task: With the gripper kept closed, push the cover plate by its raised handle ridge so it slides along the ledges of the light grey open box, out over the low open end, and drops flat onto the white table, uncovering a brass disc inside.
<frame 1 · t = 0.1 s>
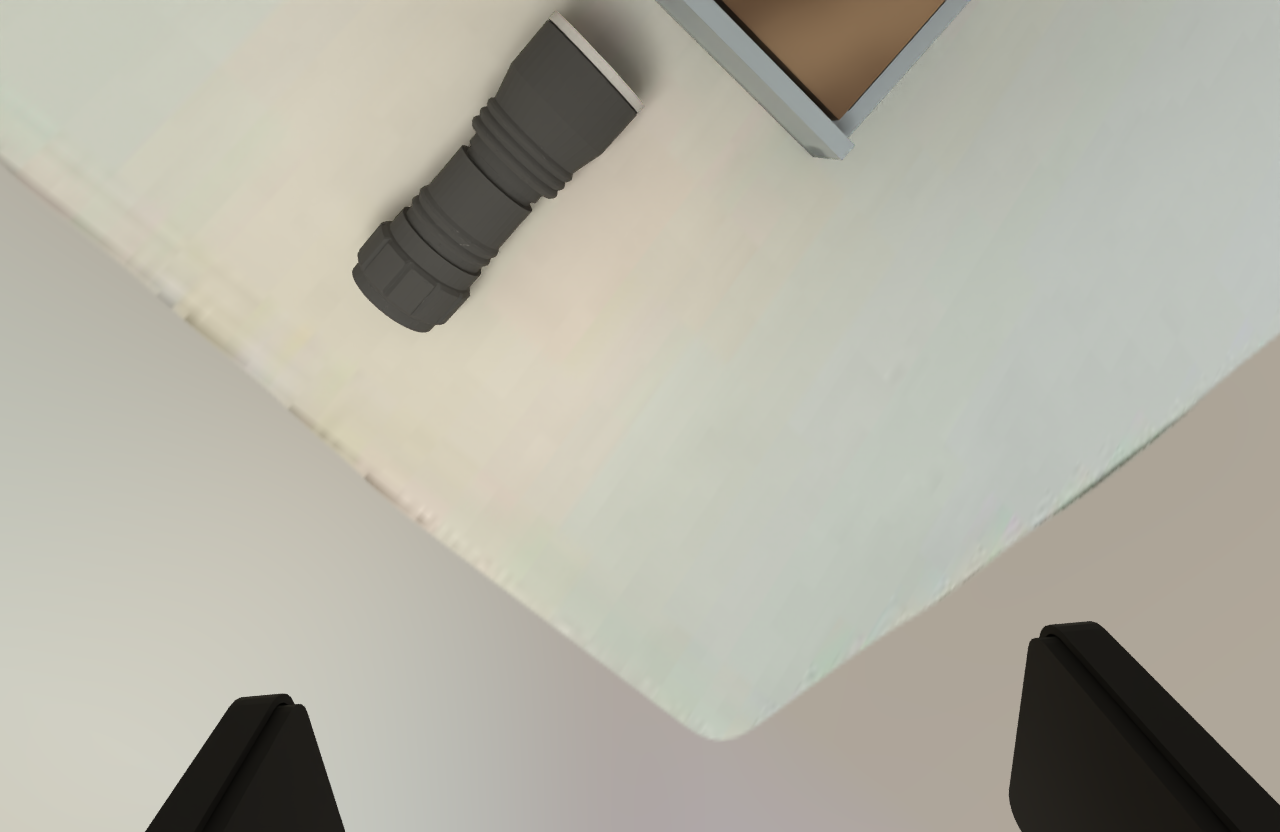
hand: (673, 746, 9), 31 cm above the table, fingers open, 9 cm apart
flashlight: (502, 178, 37), on the table
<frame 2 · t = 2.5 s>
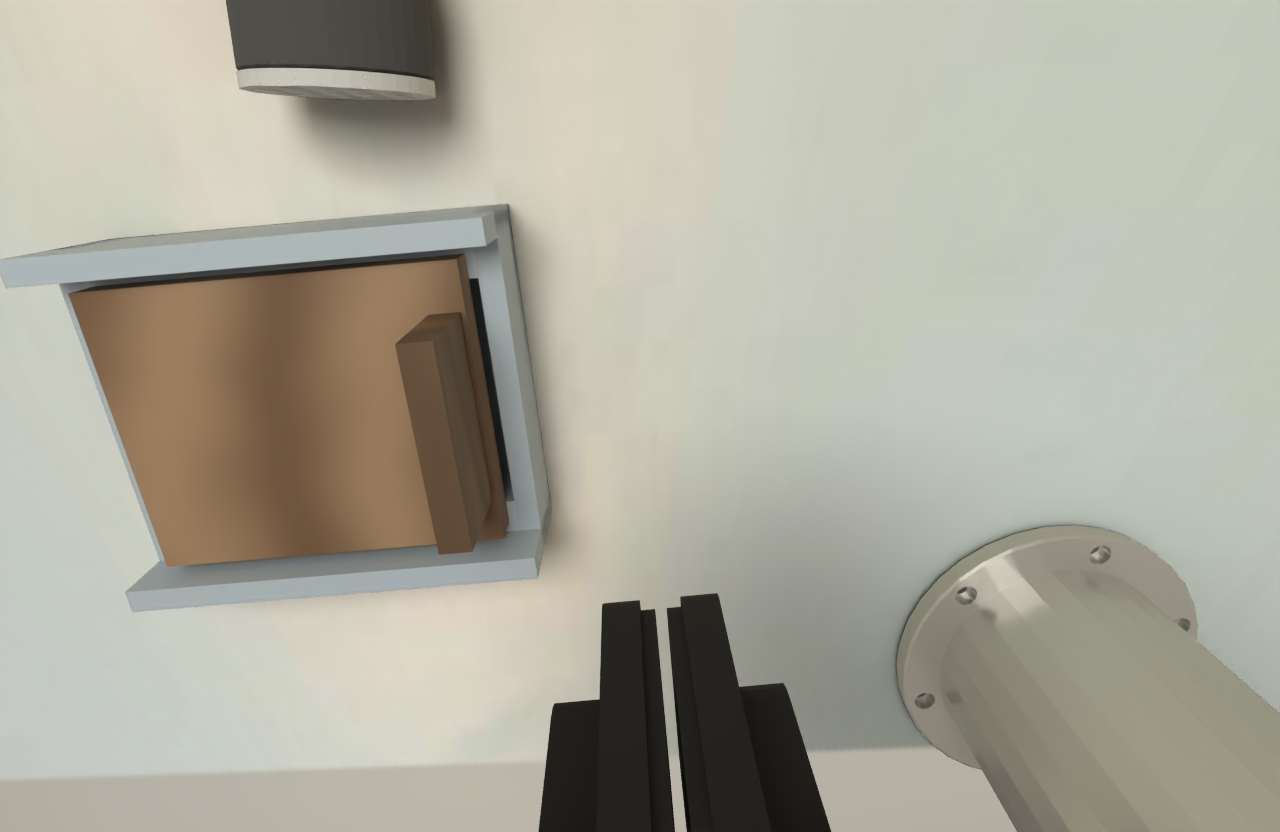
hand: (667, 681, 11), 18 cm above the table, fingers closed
cover plate: (315, 411, 25), point 3 cm above the table, touching light grey open box
light grey open box: (347, 384, 28), on the table
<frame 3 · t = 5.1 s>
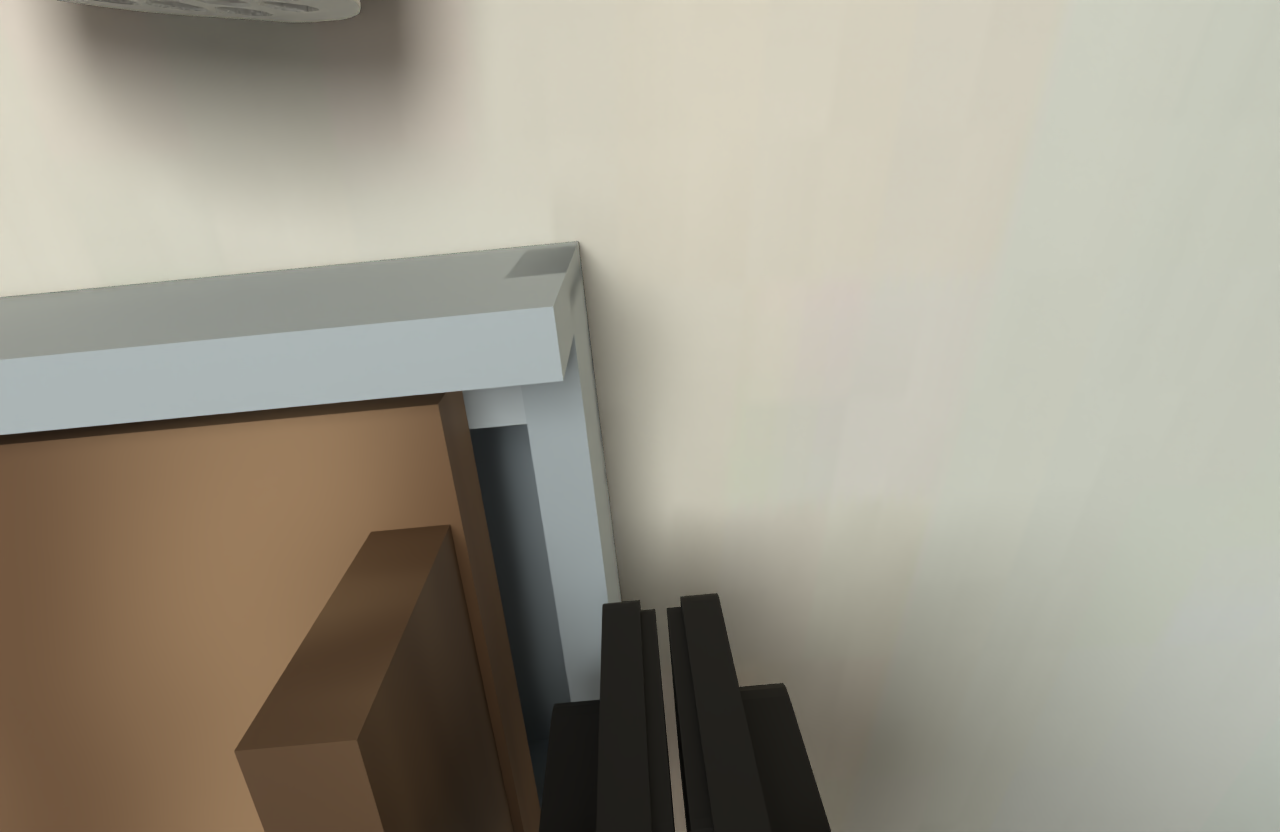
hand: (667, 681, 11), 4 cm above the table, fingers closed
cover plate: (140, 697, 11), point 3 cm above the table, touching light grey open box
light grey open box: (260, 586, 14), on the table
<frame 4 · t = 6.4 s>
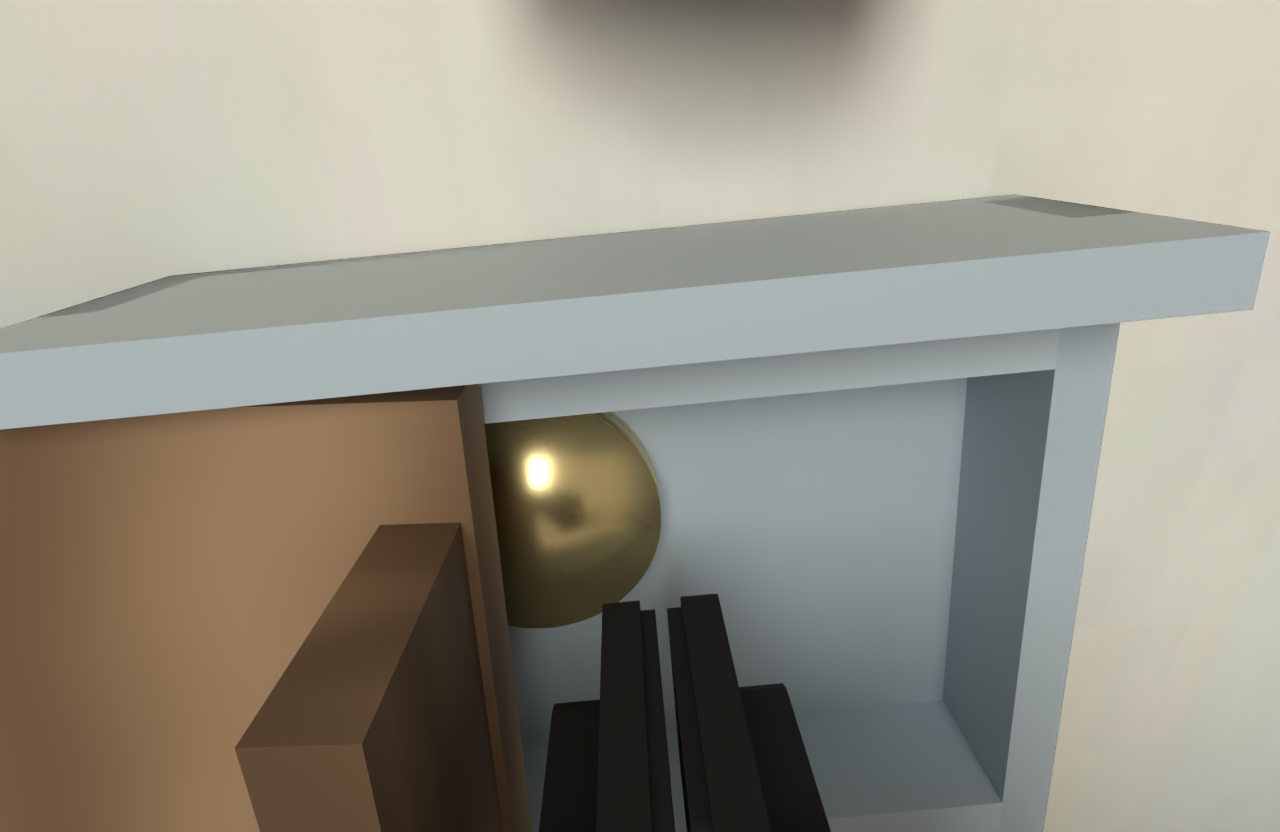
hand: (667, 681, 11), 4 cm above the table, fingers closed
brass disc: (537, 500, 13), resting on light grey open box
cover plate: (132, 677, 11), point 3 cm above the table, touching gripper, light grey open box
light grey open box: (626, 549, 14), on the table
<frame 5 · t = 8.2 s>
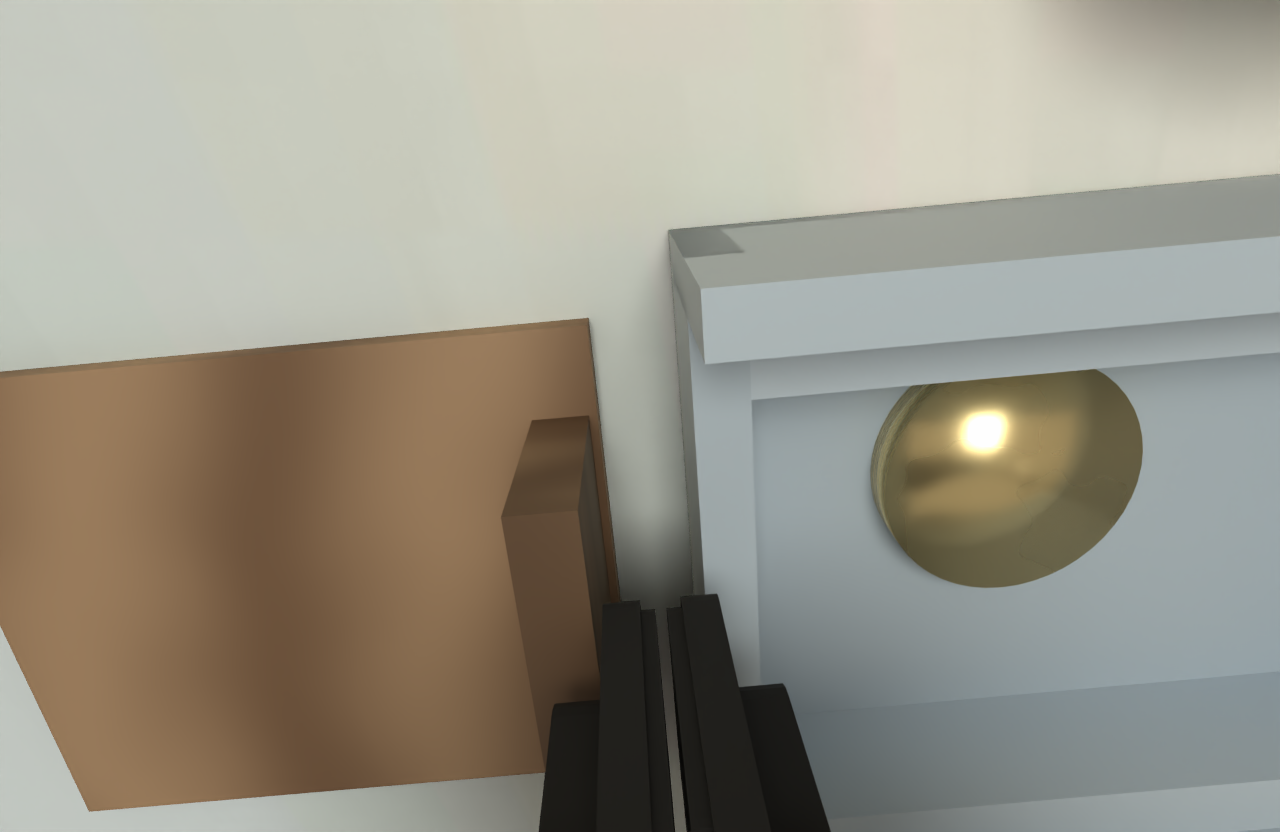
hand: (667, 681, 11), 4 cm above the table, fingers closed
brass disc: (990, 459, 13), resting on light grey open box
cover plate: (330, 564, 15), on the table
light grey open box: (1048, 511, 14), on the table
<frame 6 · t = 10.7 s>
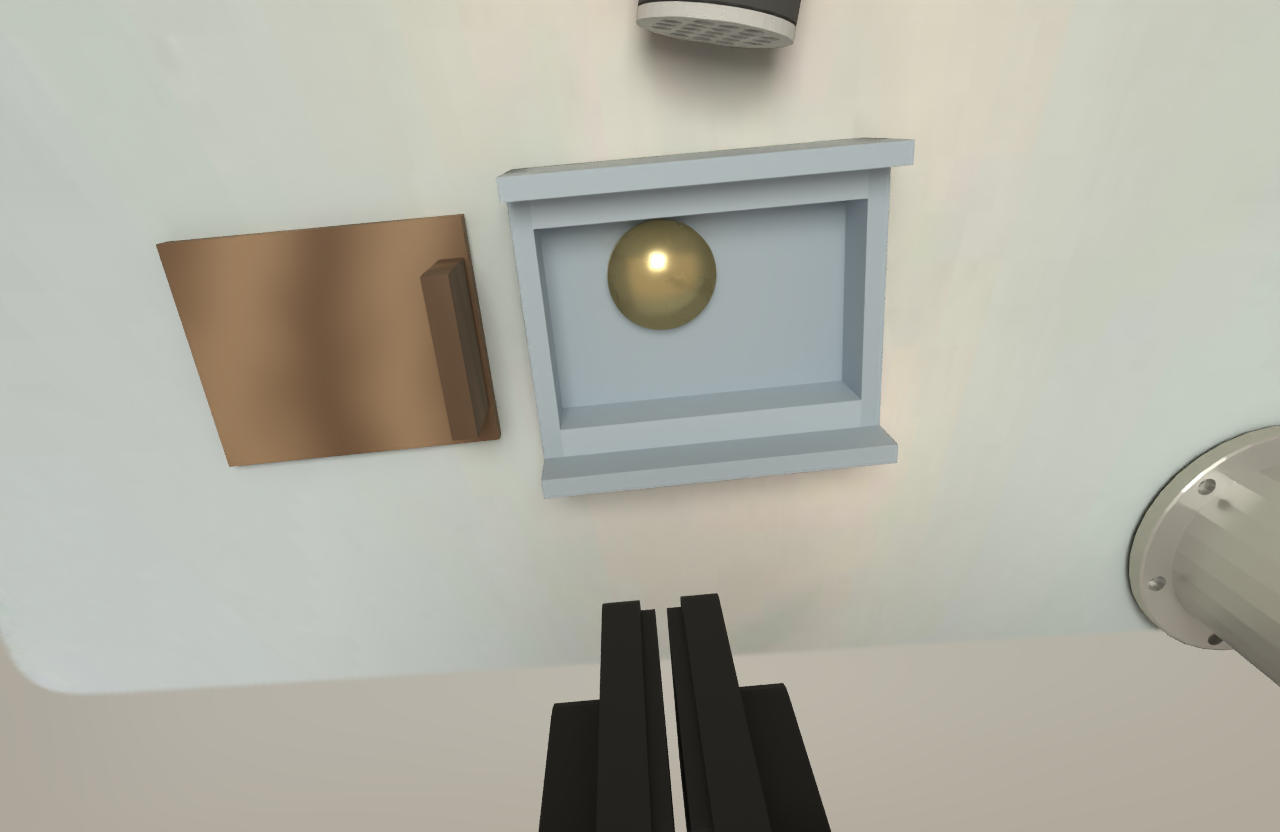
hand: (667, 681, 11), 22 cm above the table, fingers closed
brass disc: (660, 273, 30), resting on light grey open box
cover plate: (347, 340, 31), on the table
light grey open box: (696, 302, 31), on the table
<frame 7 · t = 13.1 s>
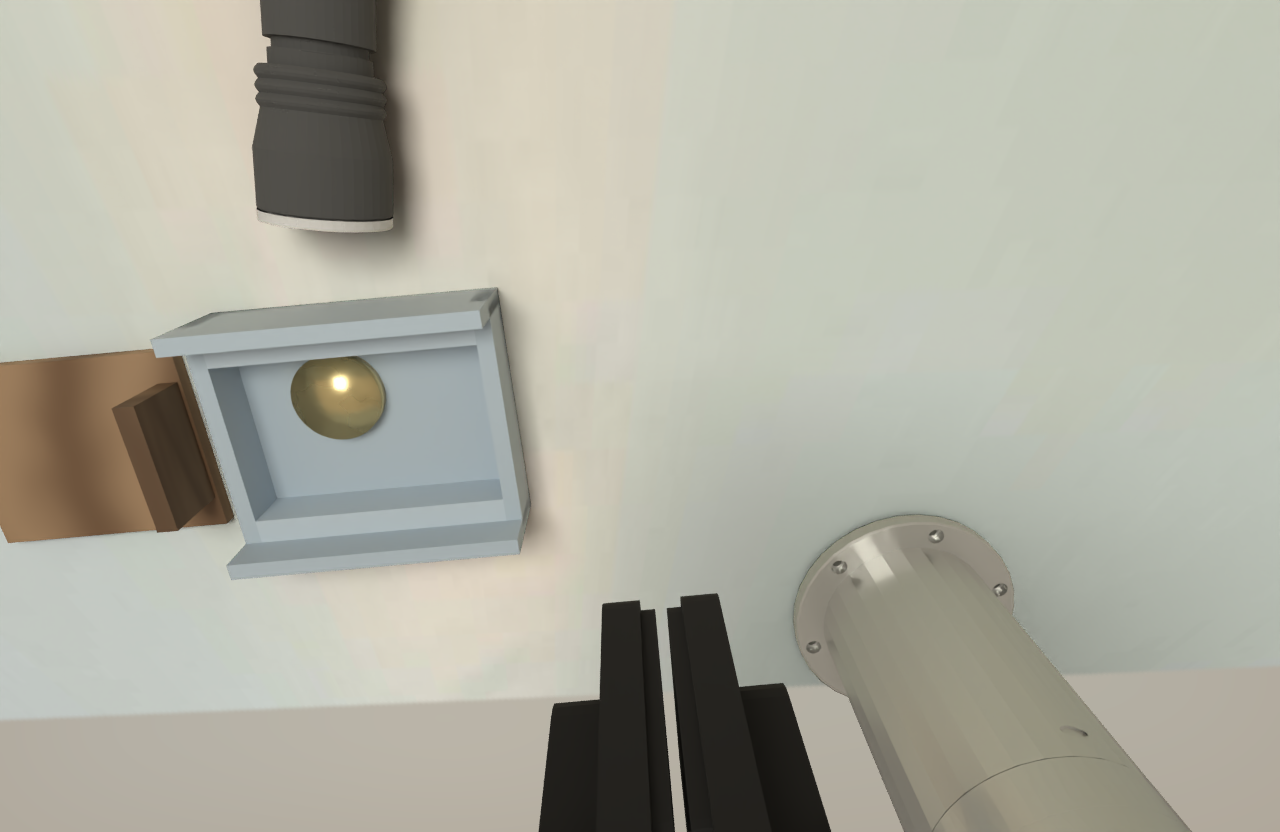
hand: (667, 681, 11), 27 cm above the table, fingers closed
brass disc: (341, 393, 37), resting on light grey open box
flashlight: (346, 45, 32), on the table
cover plate: (100, 442, 38), on the table
light grey open box: (380, 414, 38), on the table
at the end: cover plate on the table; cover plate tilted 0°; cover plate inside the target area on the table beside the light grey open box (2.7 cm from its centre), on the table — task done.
